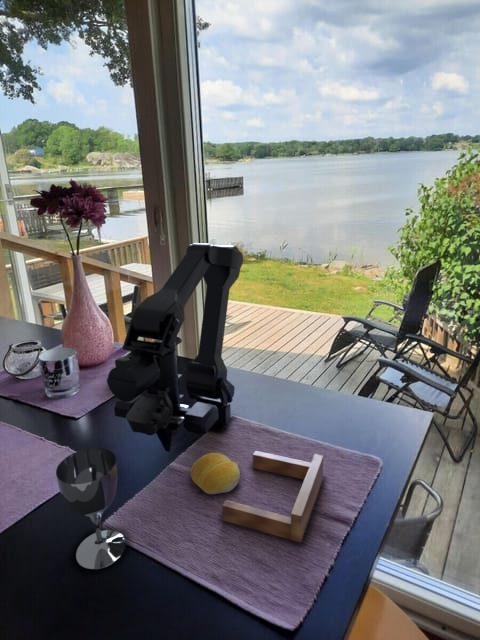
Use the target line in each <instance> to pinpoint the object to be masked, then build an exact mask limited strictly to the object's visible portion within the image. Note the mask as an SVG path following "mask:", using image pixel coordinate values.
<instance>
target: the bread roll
mask: <svg viewBox="0 0 480 640" xmlns="http://www.w3.org/2000/svg"><path fill="white" fill-rule="evenodd" d="M190 478H191V479H192V481H193V483H194V484H196V486H197V487H199V488H200V489H201V490H202V491H203V492H204V493H206V494H208V495H217V494H225V493H229V492H231V491H232V490H234V489H235V488H236V487H237V485H238V483H239V482H240V479H241V470H240V467H239V465H238V464H237V463H236V462H234V461H232V460H230V459H229V458H228V456H226V455H225V454H222V453H220V452H209V453H206V454H204V455H202V456H200V457H199V458H198V459H197V460H196V461H194V463H193V464H192V466H191V469H190Z"/></svg>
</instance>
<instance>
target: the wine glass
mask: <svg viewBox="0 0 480 640" xmlns="http://www.w3.org/2000/svg"><path fill="white" fill-rule="evenodd" d="M55 475H56V481H57V482H56V483H57V485H58V490H59V492H60V495H61V497H62V499H63V501H64V503H65V505H66V507H67V508H68V509H69V510H70V511H71V512H72V513H74V514H76V515H78V516H80V517H84V518H87V519H89V521H90V522H91V524H92V527H93V529H94V533H92V534H90V535H89V536H87V537H86V538H84V539H83V540H82V542H81V543H80V544H79V545H78V547H77V549H76V553H75V560H76V562H77V564H78V565H79V566H80V567H82V568H84V569H86V570H100V569H104V568H107V567H109V566H111V565H112V564H114V563H116V561H118V560H119V559H120V558H121V556H122V555H123V554H124V552H125V549H126V545H127V543H126V542H127V541H126V538H125V537H124V535H123V534H122V533H120V532H119V531H117V530H113V529H112V530H111V529H105V530H102V524H101V523H102V516H103V514H104V512H105V511H106V510H107V509H108V508H109V507H110V506H111V505H112V503H113V501H114V500H115V499H116V495H117V491H118V483H119V470H118V462H117V456H116V455H115V453H114V452H113V451H111V450H109V449H108V448H103V447H89V448H85V449H84V448H83V449H79V450H77V451H75V452H73V453H71V454H69V455H68V456H66V457H65V458H64V459H62V461H60V462H59V464H58V465H57V467H56V470H55Z"/></svg>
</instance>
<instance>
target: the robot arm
mask: <svg viewBox="0 0 480 640" xmlns="http://www.w3.org/2000/svg"><path fill="white" fill-rule="evenodd" d="M243 263H244V255H243V252H242V251H241V250H239V248H238V246H237V245H223V244H222V245H221V244H212V243H199V242H193V243H192V244H189V245H188V246H187V248H186V252H185V254H184V256H183V257H182V259H181V261H180V262H179V263H178V264H177V266H176V267H175V269H174V270H173V272H172V273H171V275H170V276H169V277H168V279H167V281H166V282H165V283H164V285H163V286H162V287H161V288H160V290H158V291H156V292H155V293H153V294H151V295H149V296H147V297H145V298H144V299H143V301H142V302H140V303H139V304H138V306H137V307H136V308H135V309H134V311H133V312H132V315H131V319H130V322H129V326H128V329H127V332H126V336H125V339H124V342H123V345H122V349H123V350H124V351H129V352H130V353H129V354H127V353H126V354H127V355H125V354H124V355H125V356H123V355H122V356H119V357H118V358H116V359H115V360H114V365H115V366H116V367H115V368H113V367H112V369H110V370H109V372H108V374H107V378H106V384H107V387H108V389H109V391H110V392H111V394H112V395H113V396H114V397H115V398H116V400H115V402H114V404H113V413H114V416H115V417H117V418H122V419H126V422H127V423H128V425H129V427H130V429H131V431H132V432H133V433H139V434H144V435H146V436H153V435H155V434H156V436H157V438H158V439H159V441H160V443H161V445H162V447H163V449H164V451H165V452H167V453H170V452H172V451H173V449H174V446H175V443H176V441H177V438H178V434H179V432H180V430H181V427H182V426H183V428H184V429H185V430H186V431H187V432H188V433H193V434H197V435H204V434H207V433H208V431H213V432H218V433H221V432H222V431H223V430H224V429H225V427H226V426H227V425H228V424H229V423H230V421H231V420H232V417H233V415H232V414H231V413H232V412H231V403H232V402H233V398H234V395H235V385H234V384H233V383H232V382H230V381H229V380H228V368H227V366H226V363H225V361H224V359H223V357H222V355H223V354H222V353H223V346H224V338H225V331H226V323H227V314H228V313H227V312H228V305H229V297H230V290H231V288H232V286H233V285H234V284H235V283H236V282H237V280H238V279H239V278H240V273H241V269H242V266H243ZM202 279H203V281H204V283H205V285H206V287H205V297H204V304H203V312H202V322H201V329H200V337H199V345H198V353H197V355H196V356H195V358H194V359H193V360H192V361H189V362H188V363H187V365H186V374H185V379H184V380H183V374H179V367H178V358H177V356H178V355H177V346H178V345H179V344H181V343H182V341H183V339H182V338H181V337H179V336H178V335H179V333H180V330H181V328H182V326H183V324H184V322H185V312H184V309H185V307H186V304H187V303H188V301H189V299H190V298H191V297H192V295H193V293H194V291H195V290H196V289H197V287H198V285H199V284H200V282H201V280H202ZM139 338H143V339H149V340H152V341H147V340H142V339H139ZM182 381H184V384H185V390H186V391H187V394H188V397H189V399H191V400H195V403H194V404H193V406H191V407H190V406H189V405H187V404H182V403H183V402H184V401H185V395H184V394H181V393H180V392H181V391H180V383H181V382H182Z"/></svg>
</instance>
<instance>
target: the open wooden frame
mask: <svg viewBox="0 0 480 640" xmlns="http://www.w3.org/2000/svg"><path fill="white" fill-rule="evenodd" d="M252 468H253V469H256V470H260V471H264V472H268V473H273V474H277V475H281V476H286V477H290V478H294V479H298V480H303V482H302V485H301V487H300V489H299V492H298V495H297V497H296V500H295V502H294V505H293V507H292V510H291V513H290V516H289V515H284V514H280V513H276V512H272V511H269V510H265V509H261V508H258V507H254V506H251V505H246V504H243V503H240V502H235V501H231V500H228V499H225V500H224V502H223V504H222V505H221V509H222V510H221V512H222V521H224V522H227V523H230V524H234V525H237V526H240V527H245V528H248V529H251V530H255V531H257V532H258V531H259V532H262V533H265V534H269V535H271V536H276V537H279V538H283V539H287V540H289V541H293V542H297V543H302V541H303V538H304V535H305V533H306V529H307V527H308V524H309V521H310V517H311V515H312V512H313V509H314V506H315V503H316V500H317V497H318V494H319V491H320V488H321V486H322V482H323V480H324V455H322V454H318V453H314V454H313V457H312V459H311V462H310V461H305V460H301V459H297V458H291V457H286V456H282V455H277V454H274V453H269V452H265V451H259V450H254V452H253V454H252Z"/></svg>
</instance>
